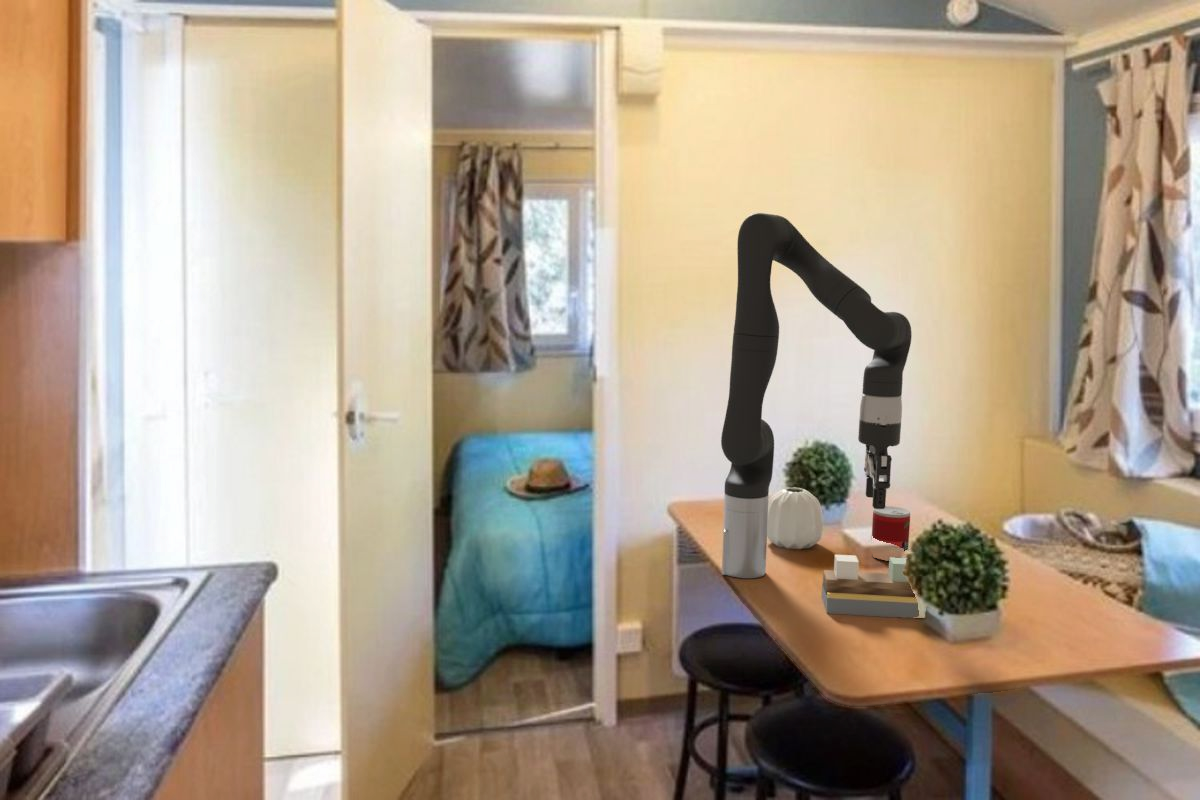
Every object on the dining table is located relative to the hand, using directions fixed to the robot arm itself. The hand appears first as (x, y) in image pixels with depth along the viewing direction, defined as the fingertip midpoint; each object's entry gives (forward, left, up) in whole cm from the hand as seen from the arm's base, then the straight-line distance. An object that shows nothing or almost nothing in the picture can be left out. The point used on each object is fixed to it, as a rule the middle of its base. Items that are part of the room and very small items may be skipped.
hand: (874, 502), depth 170 cm
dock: (0, -1, -20) cm, 20 cm away
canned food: (+9, +32, -21) cm, 39 cm away
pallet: (0, -1, -17) cm, 17 cm away
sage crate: (+5, -1, -14) cm, 15 cm away
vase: (-12, +38, -21) cm, 45 cm away
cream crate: (-5, -1, -14) cm, 15 cm away
